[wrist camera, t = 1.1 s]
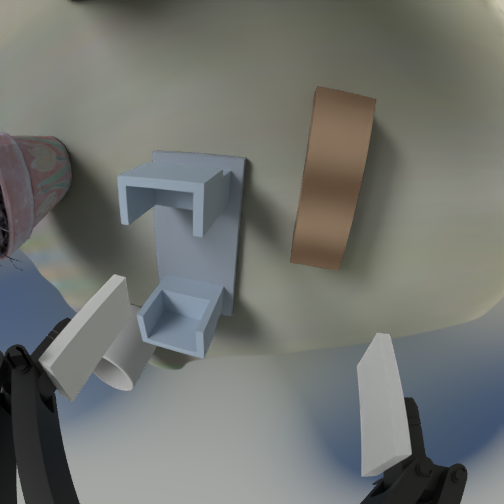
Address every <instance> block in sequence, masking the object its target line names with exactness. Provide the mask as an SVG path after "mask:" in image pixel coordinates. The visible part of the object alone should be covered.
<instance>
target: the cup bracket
mask: <svg viewBox="0 0 504 504" xmlns="http://www.w3.org/2000/svg"><path fill="white" fill-rule="evenodd" d="M245 167H246V158H244V157H235V156H226V155H216V154H205V153H192V152H177V151H154V152H152V163H148V162H147V163H145V164H143V165H140V166H138V167H136V168H133V169H131V170H129V171H127V172H124V173H122V174H120V175H118V176H117V178H118V193H119V205H120V216H121V224H125V225H130V224H131V223H132V222H133V221H135V220H136V219H137V218H139V217H140V216H141V215H143V214H144V213H145V212H147V211H148V210H149V209H151V208H152V207H153V215H154V232H155V245H156V257H157V268H158V277H159V285H158V286H157V287H156V289H155V290H154V291H153V293H152V294H151V295H150V297H149V298H148V299H147V301H146V302H145V304H144V305H143V306H142V308H141V309H140V310H139V312H138V313H137V319H138V324H139V328H140V332H141V336H142V340H143V341H144V342H147V343H150V344H153V345H156V346H160V347H163V348H166V349H170V350H173V351H177V352H180V353H184V354H187V355H191V356H195V357H199V358H203V359H204V358H205V355H206V353H207V350H208V348H209V345H210V343H211V340H212V338H213V335H214V333H215V330H216V323H217V321H218V318H219V316H220V315H224V316H229V317H232V314H233V307H234V294H235V281H236V269H237V256H238V245H239V233H240V221H241V210H242V199H243V188H244V177H245Z"/></svg>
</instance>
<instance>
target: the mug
mask: <svg viewBox="0 0 504 504" xmlns="http://www.w3.org/2000/svg"><path fill="white" fill-rule="evenodd" d="M130 306H131V312H132V316H131V318H130V319H129V321H128V322H127V323H126V325H125V326H124V327H123V329H122V330H121V332H120V333H119V334H118V336H117V337H116V339H115V340H114V341H113V343H112V344H111V346H110V347H109V348H108V350H107V351H106V353H105V354H104V356H103V357H102V359H101V360H100V361H99V363H98V364H97V366H96V367H95V369H94V370H93V372H94V374H96V375H97V376H98V377H99V378H100V379H101V380H103V381H104V382H105V383H107V384H109V385H110V386H112V387H114V388H117V389H120V390H123V391H130V390H132V389H133V388H134V386H135V385H136V383H137V381H138V379H139V378H140V376H141V374H142V372H143V370H144V369H145V367H146V365H147V363H148V361H149V360H150V358H151V356H152V354H153V352H154V351H155V349H156V347H157V346H156V345H153V344H150V343H147V342H144V341H143V340H142V336H141V332H140V328H139V324H138V319H137V313H138V312H139V310H140V309H141V307H139V306H136V305H130Z"/></svg>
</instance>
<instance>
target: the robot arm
mask: <svg viewBox="0 0 504 504" xmlns="http://www.w3.org/2000/svg"><path fill="white" fill-rule="evenodd" d="M131 316H132V312H131V306H130V301H129V295H128V289H127V283H126V277H122V276H119V275H116V274H114V275H113V276H112V277H111V278H110V279H109V280H108V281H107V282H106V283H105V284H104V285H103V286H102V287H101V288H100V289H99V291H98V292H97V293H96V294H95V295H94V296H93V297H92V298H91V299H90V300H89V301H88V302H87V303H86V305H85V306H84V307H83V308H82V309H81V310H80V311H79V312H78V313H77V314H76V316H75V317H74V318H73V319H72V320H71V319H69V318H66V319H64V320H62V321H61V322H59V323H58V324H57V325H56V326H55V328H54V329H53V331H51V332H50V333H49V334H48V336H47V337H46V338H45V339H44V340H43V341H42V342H41V344H40V345H39V346H38V347H37V348H36V350H35V351H34V352H33V353H32V355H29V354H28V352H27V350H26V349H25V347H24V346H22V345H13V346H11V347H10V348H8V350H7V351H6V352H5V356H4V355H3V353H2V352H1V351H0V392H1V388H3V389H2V392H1V393H0V504H17V491H16V468H18V473H19V478H20V483H21V487H22V492H23V496H24V499H25V503H26V504H80V503H79V500H78V497H77V494H76V491H75V488H74V485H73V482H72V479H71V474H70V471H69V467H68V463H67V459H66V455H65V451H64V446H63V441H62V436H61V430H60V425H59V418H58V411H57V404H56V397H55V393H54V392H55V390H56V389H57V390H58V391H59V393H60V394H61V395H62V396H63V397H65V398H67V399H68V400H70V401H72V402H73V401H74V399H75V398H76V396H77V395H78V393H79V392H80V390H81V388H82V387H83V385H84V384H85V382H86V381H87V379H88V378H89V376H90V375H91V373H92V372H93V370H94V369H95V367H96V366H97V364H98V363H99V361H100V360H101V359H102V357H103V356H104V354H105V353H106V351H107V350H108V348H109V347H110V346H111V344H112V343H113V341H114V340H115V339H116V337H117V336H118V334H119V333H120V332H121V330H122V329H123V327H124V326H125V325H126V323H127V322H128V321H129V319H130V318H131ZM357 375H358V387H359V401H360V417H361V443H362V445H361V446H362V476H377V475H379V474H380V473H382V472H384V477H383V478H381V479H379V480H377V481H376V482H374V483H373V485H376V484H377V485H376V486H375V487H374V489H373V490H372V491H371V492H370V493H369V494H368V495H367V497H366V498H365V499H364V500H363V501H362V502H361V503H360V504H460V502H461V499H462V495H463V492H464V488H465V484H466V481H467V470H466V468H465V467H464V466H463V465H462V464H454V465H452V466H451V467H449V468H448V467H443V466H438V465H435V464H433V462H432V461H431V459H430V458H428V457H426V454H425V449H424V442H423V435H422V429H421V426H420V424H421V422H420V418H419V411H418V407H417V405H416V403H415V401H414V400H413V398H404V396H403V391H402V386H401V381H400V376H399V371H398V367H397V362H396V358H395V354H394V349H393V345H392V341H391V337H390V334H383V333H376V335H375V337H374V338H373V340H372V342H371V344H370V345H369V347H368V349H367V350H366V352H365V354H364V355H363V357H362V359H361V360H360V362H359V364H358V365H357ZM16 466H17V467H16Z"/></svg>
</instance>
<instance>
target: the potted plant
mask: <svg viewBox="0 0 504 504" xmlns="http://www.w3.org/2000/svg"><path fill="white" fill-rule="evenodd" d="M71 180H72V170H71V163H70V159H69V156H68V153H67V151H66V148H65V146H64V144H62V143H61V142H60V141H59V140H57V139H56V138H55V137H54V136H10V135H9V134H7V133H3V132H0V260H4V259H7V258H10V256H11V255H12V254H13V253H14V252H15V251H16V250H17V249H18V248H19V247H20V246H21V245H22V244H23V243H25V242H26V241H27V240H28V239H29V238H30V235H31V233H32V229H33V228H34V227H35V226H36V225H37V224H38V223H39V222H40V221H41V220H42V219H43V218H44V217H45V215H46V214H47V213H48V212H49V211H50V210H51V209H52V208H53V207H54V206H55V205H56V204H57V203H58V202H59V201H60V200H61V199H62V198H63V197H64V196H65V194H66V193H67V191H68V190H69V188H70V184H71ZM10 259H12V258H10Z"/></svg>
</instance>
